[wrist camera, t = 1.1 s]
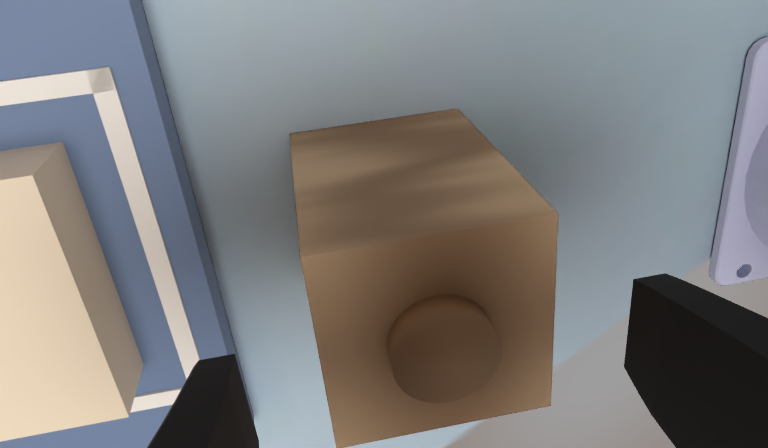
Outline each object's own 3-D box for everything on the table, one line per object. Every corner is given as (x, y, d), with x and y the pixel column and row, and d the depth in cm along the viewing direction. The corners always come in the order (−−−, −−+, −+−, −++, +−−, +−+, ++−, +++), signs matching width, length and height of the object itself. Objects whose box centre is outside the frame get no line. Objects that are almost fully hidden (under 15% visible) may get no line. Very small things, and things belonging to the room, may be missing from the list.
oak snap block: (457, 108, 16) (573, 229, 10) (463, 252, 18) (562, 426, 12) (289, 133, 16) (301, 275, 10) (315, 278, 18) (339, 473, 12)
